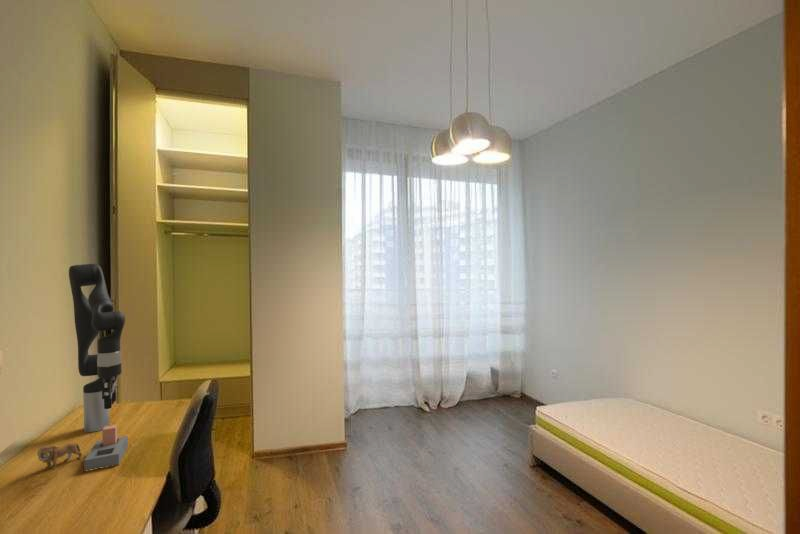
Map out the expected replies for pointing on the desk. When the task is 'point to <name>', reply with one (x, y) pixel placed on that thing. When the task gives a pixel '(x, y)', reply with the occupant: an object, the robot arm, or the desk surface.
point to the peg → (109, 435)
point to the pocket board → (106, 454)
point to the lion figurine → (57, 453)
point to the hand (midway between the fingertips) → (110, 405)
